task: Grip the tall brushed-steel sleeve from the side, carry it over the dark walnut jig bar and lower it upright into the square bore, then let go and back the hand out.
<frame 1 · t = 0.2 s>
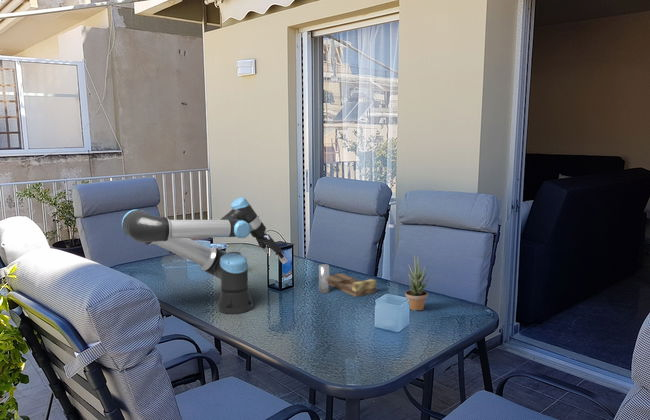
hand: (278, 259, 252), 15 cm above the table, tool tilted 35°, fingers open, 13 cm apart
jig bar: (347, 286, 258), on the table
steel sleeve: (324, 291, 251), on the table
potted plant: (415, 309, 225), on the table
jar: (234, 275, 281), on the table
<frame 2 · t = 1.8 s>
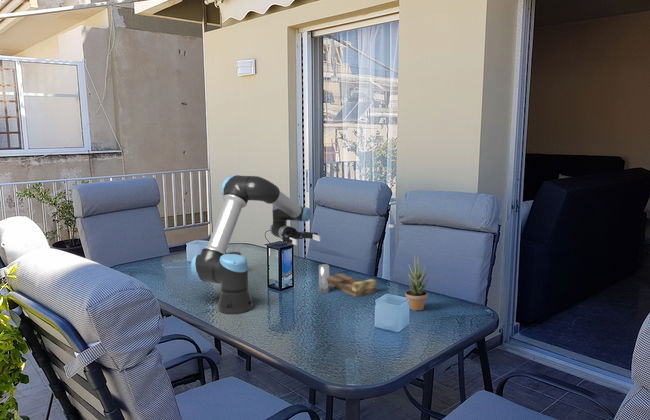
hand: (308, 240, 259), 23 cm above the table, tool horizontal, fingers open, 13 cm apart
nothing on the table moved.
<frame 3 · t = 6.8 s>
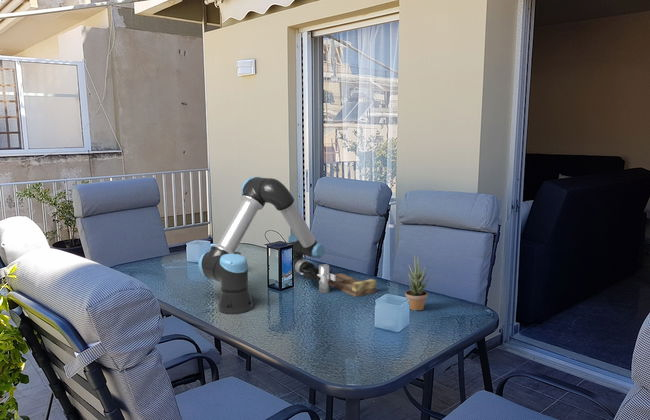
hand: (329, 279, 245), 8 cm above the table, tool horizontal, fingers closed on steel sleeve, 5 cm apart
steel sleeve: (324, 291, 251), on the table, touching gripper
everything else where it was.
when the fingers open (8 cm above the table, at t = 11.9 s): steel sleeve stays where it is, resting in jig bar.
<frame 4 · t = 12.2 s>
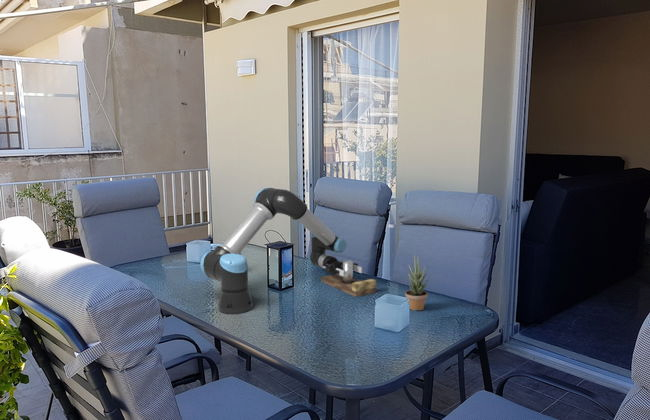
hand: (352, 272, 253), 8 cm above the table, tool horizontal, fingers open, 10 cm apart
steel sleeve: (347, 286, 258), resting in jig bar
everything else where it was.
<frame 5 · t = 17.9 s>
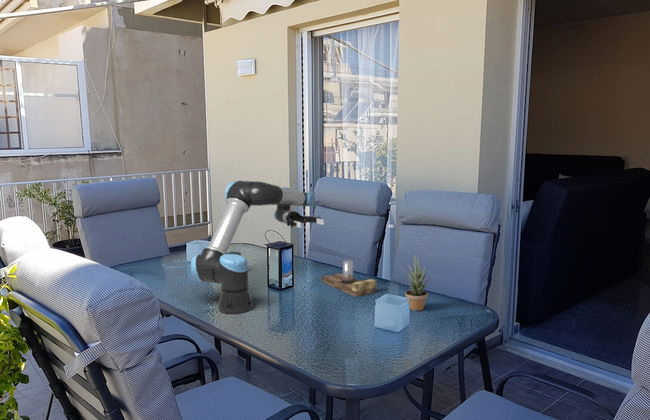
hand: (312, 223, 264), 30 cm above the table, tool horizontal, fingers open, 13 cm apart
nothing on the table moved.
at the end: steel sleeve 0.0 cm off-centre on the jig bar, point 0.0 cm above the jig bar's base; steel sleeve tilted 0°; the gripper is holding nothing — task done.
